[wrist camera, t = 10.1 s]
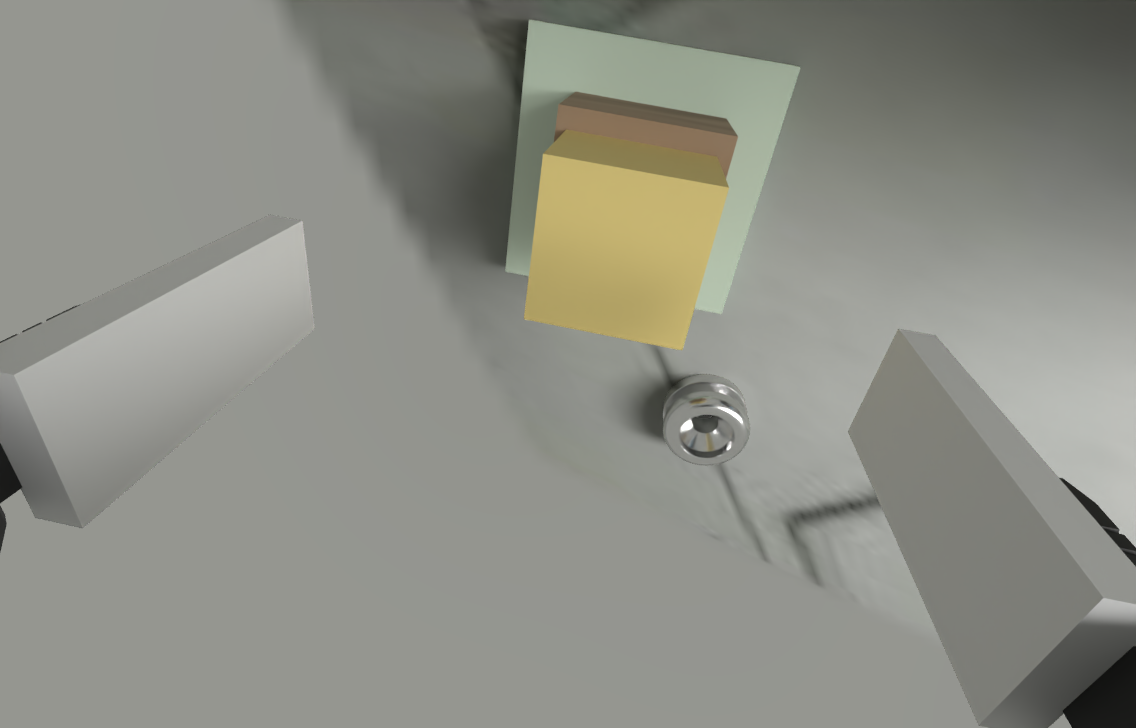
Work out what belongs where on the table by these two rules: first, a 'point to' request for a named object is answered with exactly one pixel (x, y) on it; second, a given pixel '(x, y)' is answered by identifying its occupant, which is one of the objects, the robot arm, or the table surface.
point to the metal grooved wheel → (705, 420)
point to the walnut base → (648, 125)
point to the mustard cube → (622, 237)
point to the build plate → (656, 78)
